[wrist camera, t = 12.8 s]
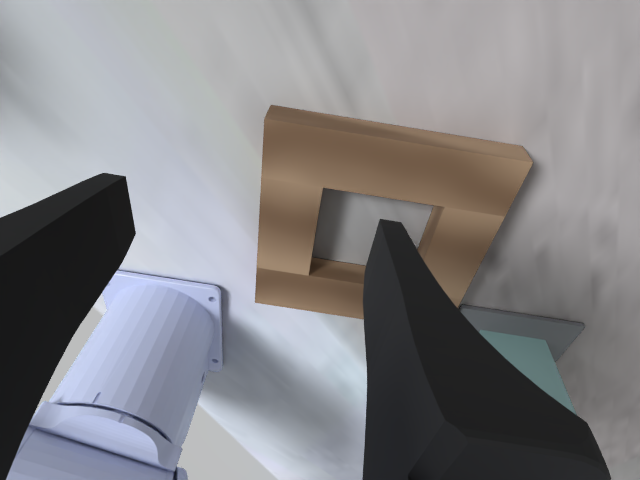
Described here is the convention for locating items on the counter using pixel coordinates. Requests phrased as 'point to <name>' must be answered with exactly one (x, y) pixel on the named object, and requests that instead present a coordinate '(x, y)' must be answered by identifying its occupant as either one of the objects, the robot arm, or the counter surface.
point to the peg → (531, 362)
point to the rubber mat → (525, 326)
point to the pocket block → (378, 180)
